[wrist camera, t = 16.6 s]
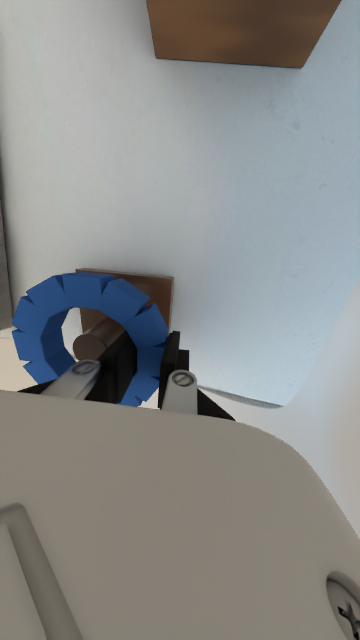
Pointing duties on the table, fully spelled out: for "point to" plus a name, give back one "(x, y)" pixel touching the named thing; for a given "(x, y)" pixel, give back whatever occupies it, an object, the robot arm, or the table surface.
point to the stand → (239, 30)
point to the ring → (92, 293)
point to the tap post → (106, 330)
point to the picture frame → (4, 284)
